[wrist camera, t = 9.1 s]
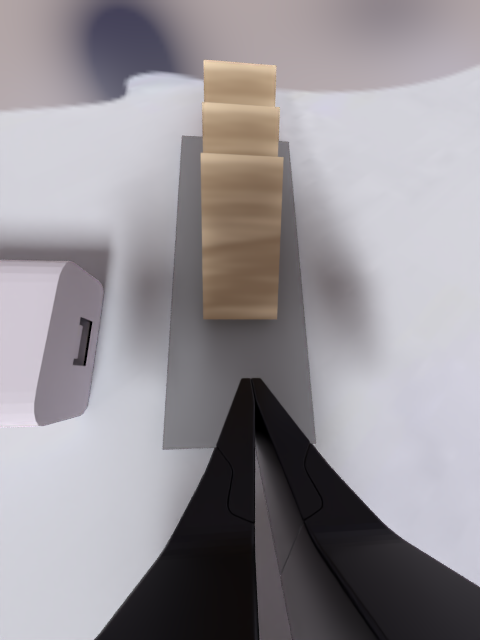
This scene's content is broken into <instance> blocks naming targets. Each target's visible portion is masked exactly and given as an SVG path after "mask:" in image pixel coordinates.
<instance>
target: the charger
mask: <svg viewBox="0 0 480 640" xmlns="http://www.w3.org/2000/svg"><path fill="white" fill-rule="evenodd" d="M103 296H104V289H103V286H102V284H101V282H100V281H98V280H97V279H96V278H94V277H93V276H92V275H90V274H89V273H88V272H86V271H85V270H84V269H82V268H81V267H80V266H78V265H77V264H76V263H74V262H72V261H45V260H0V427H32V426H45V425H49V424H52V423H56V422H59V421H63V420H67V419H70V418H74V417H77V416H81V415H82V414H83V413H84V411H85V410H86V408H87V405H88V400H89V394H90V387H91V380H92V373H93V366H94V360H95V353H96V346H97V339H98V332H99V325H100V318H101V311H102V304H103ZM90 321H92V328H91V335H90V341H89V348H88V354H87V361H86V366H83V364H84V358H85V351H86V345H87V338H88V332H89V325H90Z"/></svg>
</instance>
